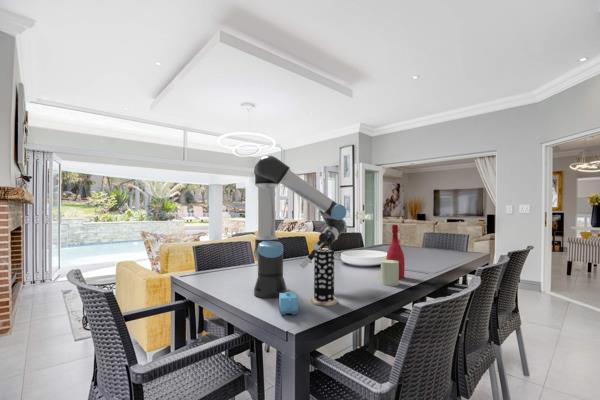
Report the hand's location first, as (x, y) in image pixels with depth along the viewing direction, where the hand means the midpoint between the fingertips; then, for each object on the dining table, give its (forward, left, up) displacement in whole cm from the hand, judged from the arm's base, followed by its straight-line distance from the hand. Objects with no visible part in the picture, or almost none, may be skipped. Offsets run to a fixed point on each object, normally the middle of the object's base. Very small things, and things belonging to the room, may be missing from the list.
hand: (307, 257), depth 136 cm
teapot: (-7, -25, -17) cm, 31 cm away
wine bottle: (+50, +35, -17) cm, 63 cm away
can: (+43, +21, -17) cm, 51 cm away
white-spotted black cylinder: (+7, -11, -16) cm, 20 cm away
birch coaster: (+7, -11, -17) cm, 21 cm away
